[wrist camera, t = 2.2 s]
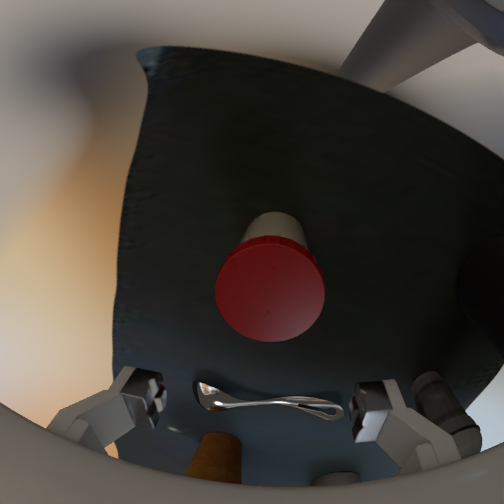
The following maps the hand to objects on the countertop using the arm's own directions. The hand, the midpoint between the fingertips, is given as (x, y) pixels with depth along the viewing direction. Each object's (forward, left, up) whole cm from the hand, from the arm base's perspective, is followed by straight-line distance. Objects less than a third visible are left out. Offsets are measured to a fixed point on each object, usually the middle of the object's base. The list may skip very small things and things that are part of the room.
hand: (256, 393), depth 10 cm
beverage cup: (+6, +28, -19) cm, 34 cm away
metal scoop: (+18, +10, -19) cm, 28 cm away
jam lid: (0, 0, -8) cm, 8 cm away
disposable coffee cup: (+32, +10, -19) cm, 38 cm away
